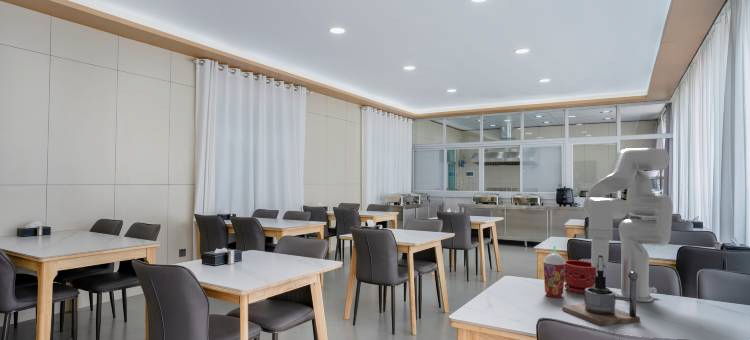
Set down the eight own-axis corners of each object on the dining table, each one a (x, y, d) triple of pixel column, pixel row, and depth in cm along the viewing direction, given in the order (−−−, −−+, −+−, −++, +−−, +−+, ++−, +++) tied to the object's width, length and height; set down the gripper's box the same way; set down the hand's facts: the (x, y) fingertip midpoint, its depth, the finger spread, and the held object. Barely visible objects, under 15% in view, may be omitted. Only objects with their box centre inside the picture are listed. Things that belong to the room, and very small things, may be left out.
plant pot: (559, 291, 181) (559, 263, 181) (567, 285, 192) (567, 258, 192) (593, 297, 173) (594, 267, 173) (600, 290, 184) (600, 262, 184)
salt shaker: (593, 300, 148) (593, 265, 148) (588, 295, 154) (588, 262, 154) (611, 301, 147) (612, 266, 147) (606, 296, 153) (606, 263, 153)
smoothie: (566, 295, 176) (567, 246, 176) (563, 299, 169) (563, 248, 169) (545, 291, 180) (545, 243, 181) (540, 296, 173) (541, 246, 174)
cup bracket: (599, 306, 161) (599, 262, 161) (640, 321, 145) (640, 272, 145) (562, 310, 156) (562, 264, 156) (600, 326, 140) (600, 274, 140)
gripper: (588, 230, 160) (588, 280, 160) (588, 236, 145) (587, 291, 145) (612, 232, 157) (611, 282, 156) (613, 238, 142) (613, 294, 141)
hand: (600, 286), depth 151 cm, fingers closed on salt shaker, 4 cm apart
